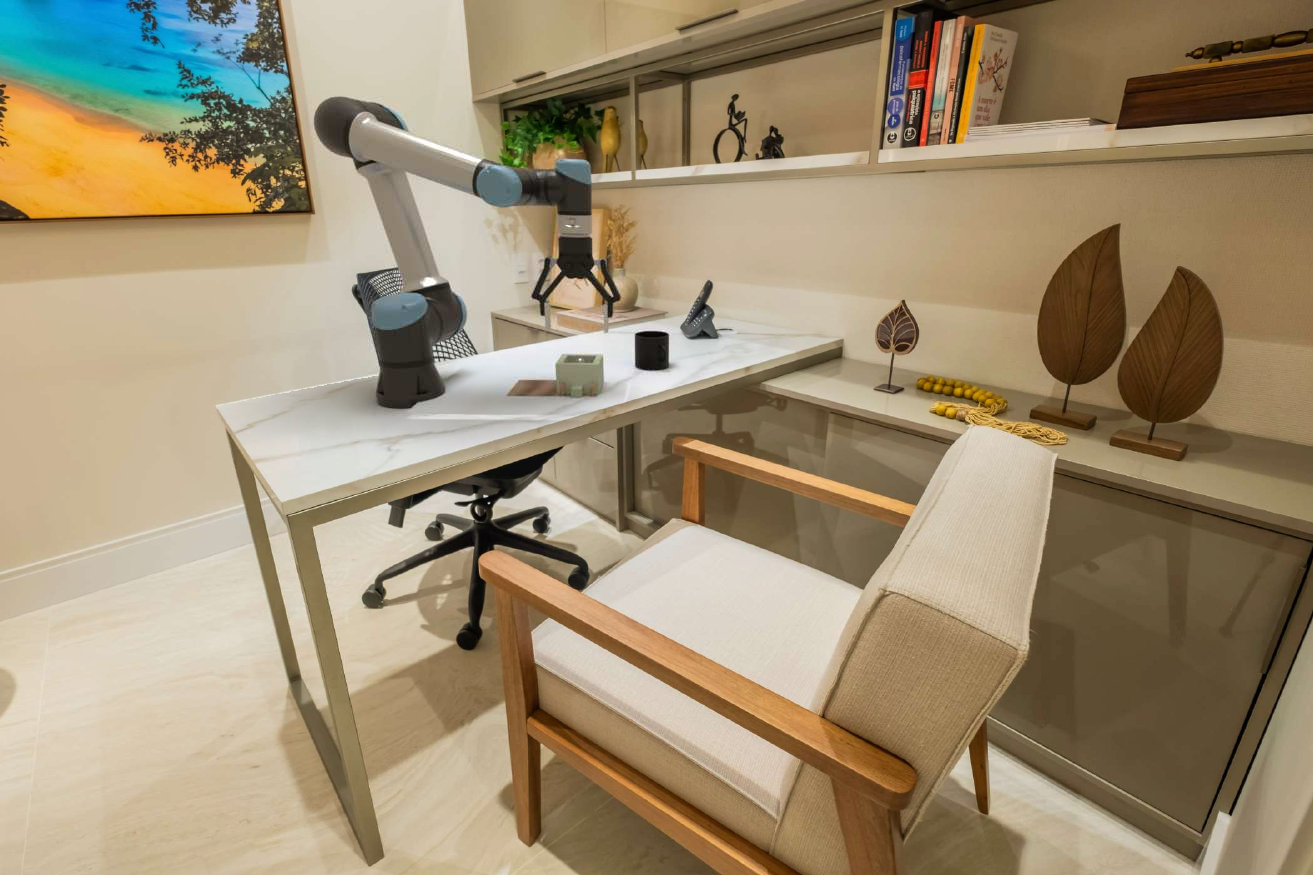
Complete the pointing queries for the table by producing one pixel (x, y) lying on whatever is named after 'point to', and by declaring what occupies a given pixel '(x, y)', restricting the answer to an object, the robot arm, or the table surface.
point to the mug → (651, 350)
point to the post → (580, 360)
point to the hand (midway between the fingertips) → (577, 330)
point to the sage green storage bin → (580, 373)
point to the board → (543, 388)
